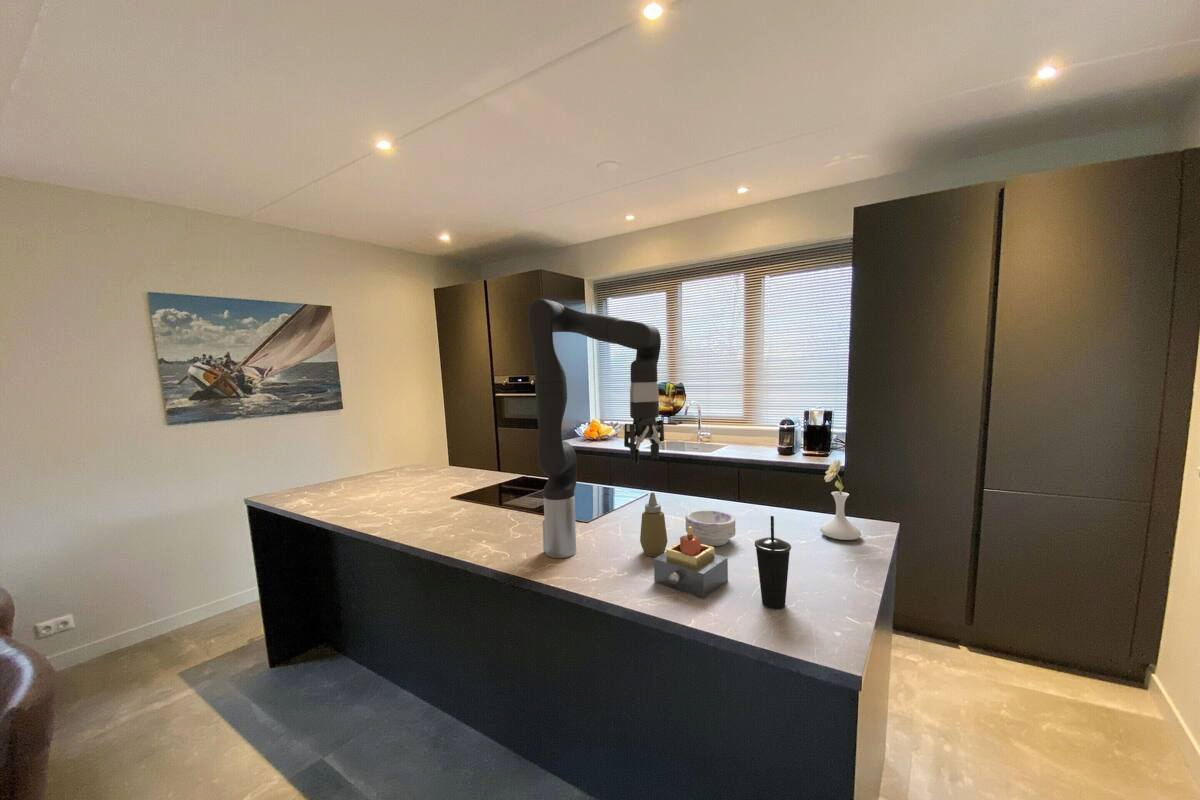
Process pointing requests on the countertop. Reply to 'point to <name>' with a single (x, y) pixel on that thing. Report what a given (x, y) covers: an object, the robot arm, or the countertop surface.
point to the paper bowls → (711, 526)
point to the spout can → (690, 543)
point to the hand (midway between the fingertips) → (645, 460)
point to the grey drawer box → (691, 571)
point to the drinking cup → (773, 569)
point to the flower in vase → (839, 511)
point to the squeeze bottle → (653, 529)
